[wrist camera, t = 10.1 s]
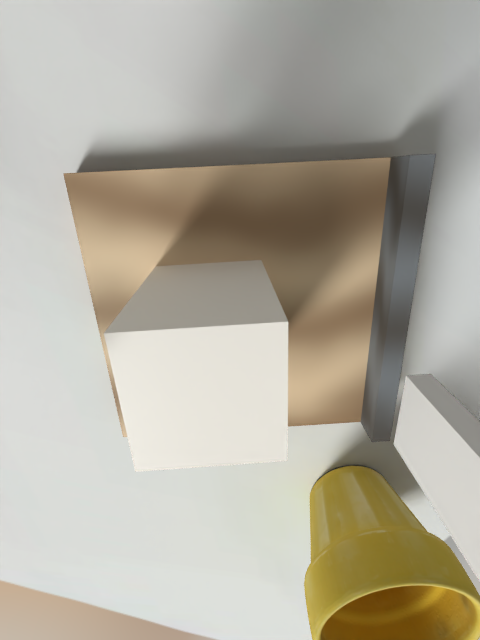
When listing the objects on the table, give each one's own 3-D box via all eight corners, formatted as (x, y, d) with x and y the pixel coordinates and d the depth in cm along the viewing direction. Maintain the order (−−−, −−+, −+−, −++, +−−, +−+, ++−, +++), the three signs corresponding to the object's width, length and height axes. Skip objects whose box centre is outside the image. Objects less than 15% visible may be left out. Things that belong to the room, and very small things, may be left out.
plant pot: (298, 545, 31) (327, 693, 22) (275, 463, 27) (299, 603, 18) (410, 521, 31) (486, 664, 22) (403, 434, 27) (493, 565, 18)
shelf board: (75, 173, 19) (44, 173, 15) (402, 157, 19) (439, 153, 16) (128, 422, 25) (114, 458, 22) (371, 407, 26) (392, 440, 22)
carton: (167, 359, 22) (131, 472, 13) (153, 266, 19) (99, 333, 11) (266, 352, 22) (291, 460, 13) (263, 259, 19) (292, 321, 11)
